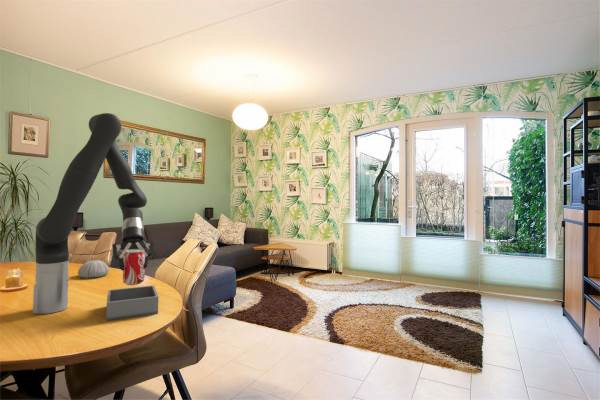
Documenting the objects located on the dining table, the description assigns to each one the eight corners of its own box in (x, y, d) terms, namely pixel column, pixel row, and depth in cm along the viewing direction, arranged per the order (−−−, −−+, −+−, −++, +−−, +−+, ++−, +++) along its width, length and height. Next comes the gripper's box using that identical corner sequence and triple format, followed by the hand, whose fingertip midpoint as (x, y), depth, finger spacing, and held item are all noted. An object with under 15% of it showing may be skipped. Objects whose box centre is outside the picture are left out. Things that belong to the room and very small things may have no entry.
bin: (106, 321, 103) (106, 302, 103) (107, 306, 117) (108, 290, 116) (157, 313, 111) (158, 296, 111) (153, 300, 124) (154, 285, 124)
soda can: (135, 286, 110) (136, 252, 109) (117, 285, 111) (118, 251, 111) (148, 281, 117) (149, 249, 116) (132, 279, 118) (133, 248, 118)
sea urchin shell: (71, 277, 154) (71, 261, 154) (96, 271, 167) (96, 256, 167) (91, 280, 150) (92, 264, 150) (116, 274, 163) (116, 259, 163)
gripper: (111, 226, 116) (110, 264, 106) (154, 225, 123) (156, 260, 113) (111, 238, 121) (110, 276, 111) (152, 236, 128) (154, 271, 118)
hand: (133, 268), depth 112 cm, fingers closed on soda can, 6 cm apart
